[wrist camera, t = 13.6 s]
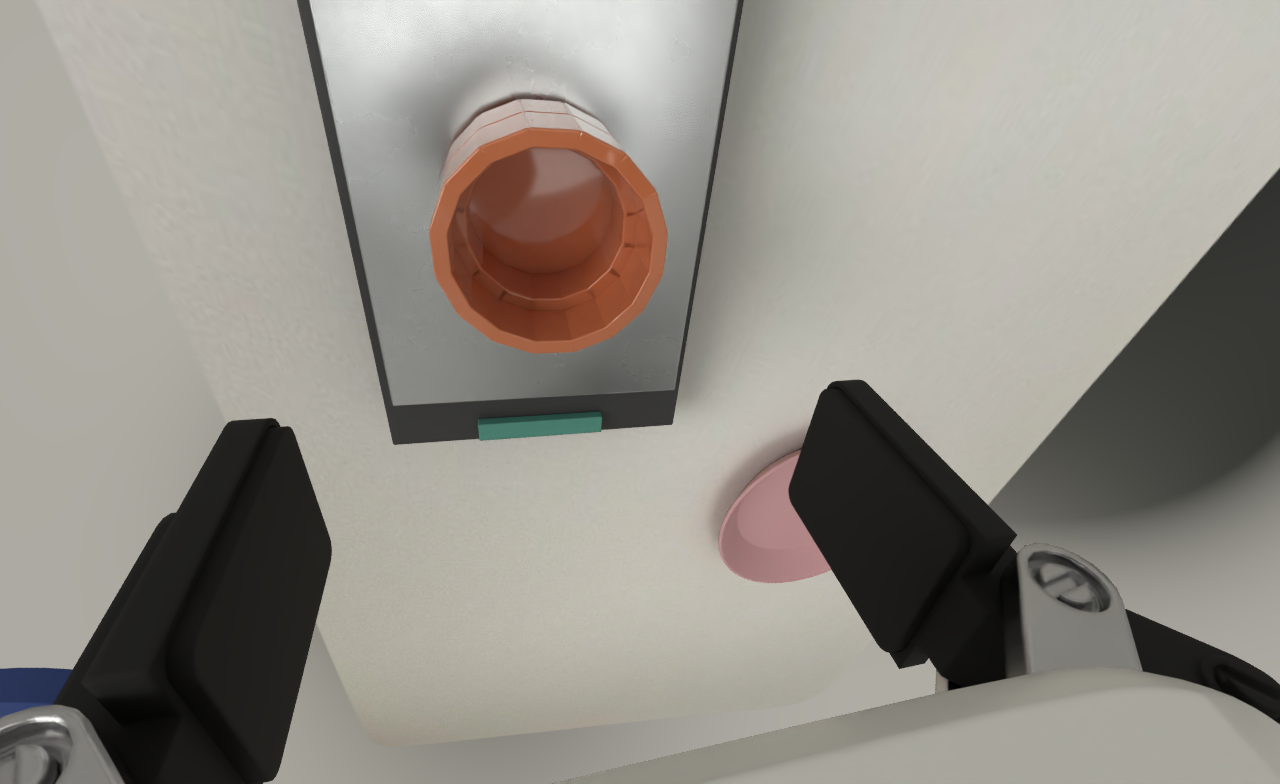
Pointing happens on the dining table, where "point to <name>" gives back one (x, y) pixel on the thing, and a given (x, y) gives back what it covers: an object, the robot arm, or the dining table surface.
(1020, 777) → the robot arm
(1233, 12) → the dining table surface
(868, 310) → the dining table surface
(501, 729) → the dining table surface
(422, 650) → the dining table surface
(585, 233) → the bowl
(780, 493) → the plate
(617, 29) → the scale
